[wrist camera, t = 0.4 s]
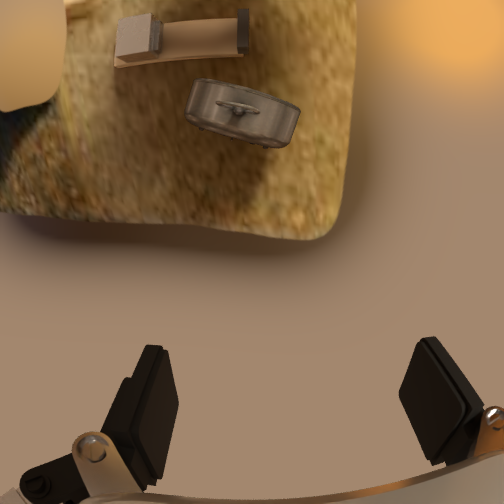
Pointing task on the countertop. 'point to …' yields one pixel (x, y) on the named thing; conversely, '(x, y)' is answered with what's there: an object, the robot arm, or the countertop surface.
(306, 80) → the countertop surface
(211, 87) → the alarm clock
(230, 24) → the track
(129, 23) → the block
